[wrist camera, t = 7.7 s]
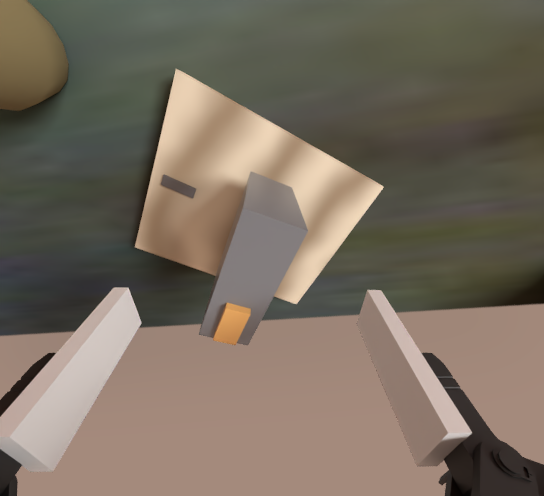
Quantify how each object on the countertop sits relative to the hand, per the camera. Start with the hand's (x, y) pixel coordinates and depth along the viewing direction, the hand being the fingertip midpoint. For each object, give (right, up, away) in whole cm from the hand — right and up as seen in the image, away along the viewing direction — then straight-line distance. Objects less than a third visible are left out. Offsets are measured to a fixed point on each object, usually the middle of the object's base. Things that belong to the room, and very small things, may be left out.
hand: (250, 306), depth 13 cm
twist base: (-1, +7, +12) cm, 14 cm away
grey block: (-1, +5, +8) cm, 9 cm away
